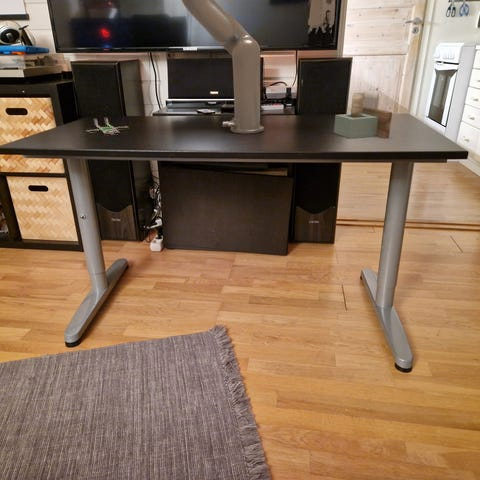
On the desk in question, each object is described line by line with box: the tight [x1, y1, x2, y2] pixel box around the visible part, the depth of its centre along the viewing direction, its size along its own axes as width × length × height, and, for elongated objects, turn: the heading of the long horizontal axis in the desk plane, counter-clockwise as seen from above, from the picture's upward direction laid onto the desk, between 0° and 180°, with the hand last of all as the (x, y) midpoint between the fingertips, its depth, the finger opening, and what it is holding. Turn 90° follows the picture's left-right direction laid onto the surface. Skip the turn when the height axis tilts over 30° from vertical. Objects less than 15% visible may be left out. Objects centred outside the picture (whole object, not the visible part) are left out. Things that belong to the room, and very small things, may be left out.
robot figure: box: [85, 117, 130, 135], centre depth 160 cm, size 16×3×22 cm
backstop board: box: [362, 106, 393, 139], centre depth 135 cm, size 20×18×9 cm
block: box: [333, 113, 378, 139], centre depth 136 cm, size 10×10×6 cm
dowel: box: [350, 92, 364, 118], centre depth 134 cm, size 4×4×12 cm
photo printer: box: [350, 89, 380, 110], centre depth 160 cm, size 10×4×12 cm, turn 60°
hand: (318, 46), depth 139 cm, fingers open, 9 cm apart
